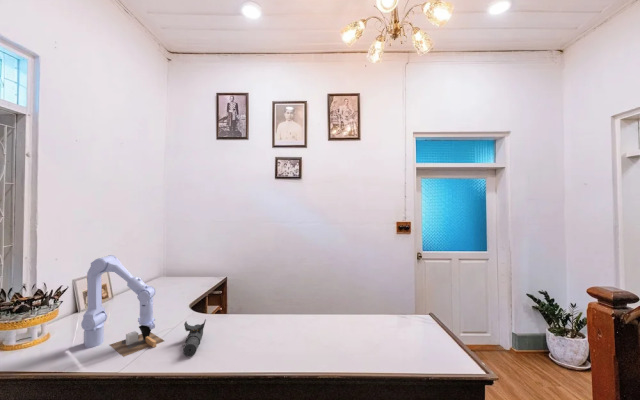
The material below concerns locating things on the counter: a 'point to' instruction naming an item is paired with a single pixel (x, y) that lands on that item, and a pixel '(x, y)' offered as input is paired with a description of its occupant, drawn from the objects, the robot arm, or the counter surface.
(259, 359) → the counter surface
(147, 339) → the bar
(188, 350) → the laser sight
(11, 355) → the counter surface
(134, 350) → the base board
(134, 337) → the white block
